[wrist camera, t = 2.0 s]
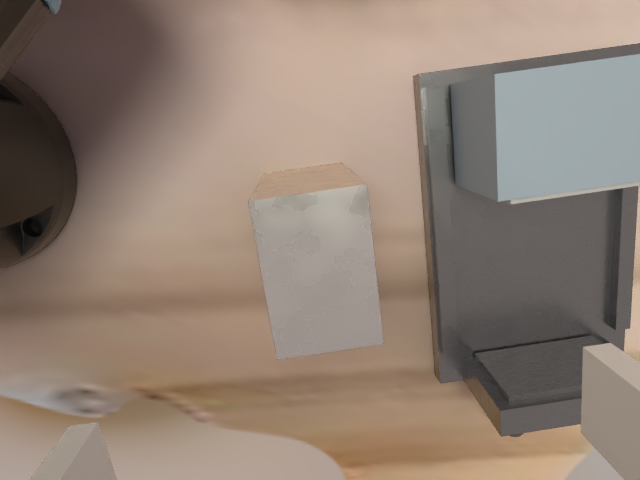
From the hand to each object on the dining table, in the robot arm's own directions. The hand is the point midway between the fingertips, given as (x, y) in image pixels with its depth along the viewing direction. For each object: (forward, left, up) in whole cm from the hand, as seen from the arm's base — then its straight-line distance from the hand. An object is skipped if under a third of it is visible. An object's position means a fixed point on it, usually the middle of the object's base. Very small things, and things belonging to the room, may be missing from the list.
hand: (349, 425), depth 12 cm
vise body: (+17, -4, -24) cm, 29 cm away
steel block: (0, 0, -24) cm, 24 cm away
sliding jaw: (+17, +5, -22) cm, 28 cm away
